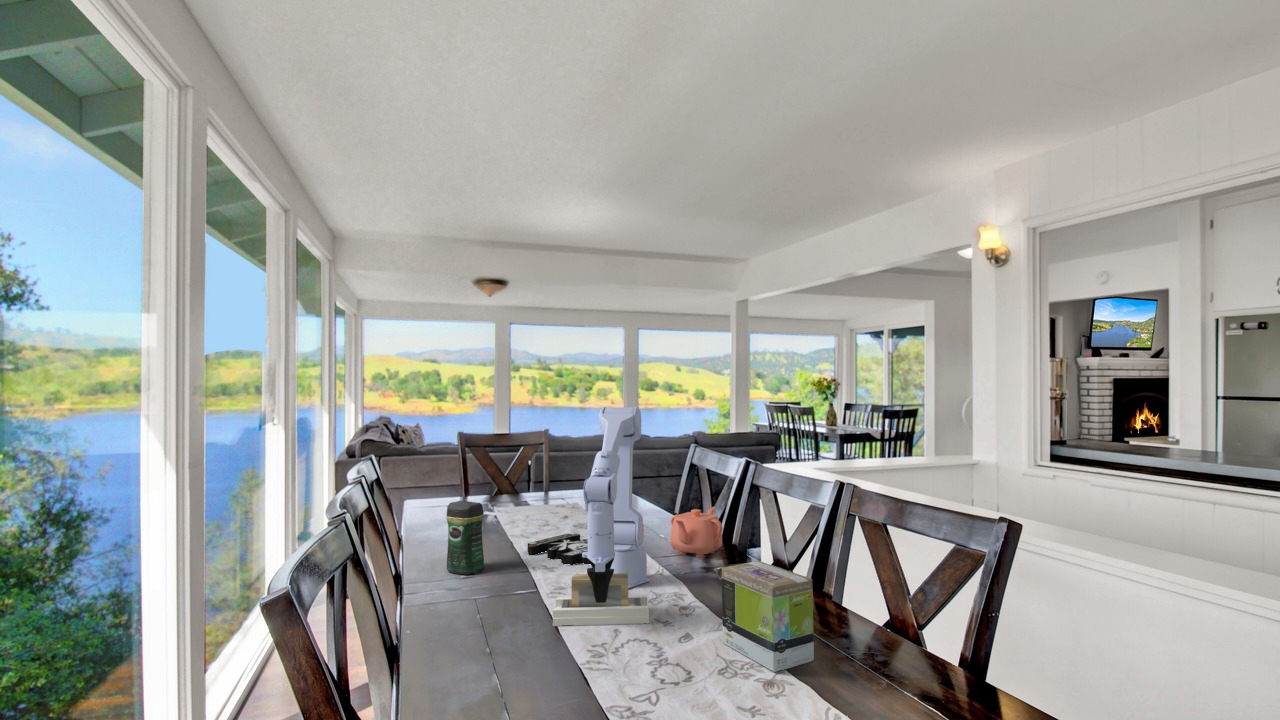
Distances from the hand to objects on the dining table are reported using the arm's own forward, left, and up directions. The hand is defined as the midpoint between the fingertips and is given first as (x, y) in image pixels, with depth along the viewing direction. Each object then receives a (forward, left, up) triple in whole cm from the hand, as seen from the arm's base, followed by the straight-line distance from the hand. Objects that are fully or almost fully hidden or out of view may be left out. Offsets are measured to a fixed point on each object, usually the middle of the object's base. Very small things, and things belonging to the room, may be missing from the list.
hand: (601, 595), depth 137 cm
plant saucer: (-39, +13, -5) cm, 41 cm away
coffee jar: (+1, -52, -5) cm, 52 cm away
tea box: (-8, +36, -5) cm, 37 cm away
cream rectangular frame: (0, 0, -4) cm, 4 cm away
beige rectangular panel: (0, 0, -3) cm, 3 cm away
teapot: (-53, -15, -5) cm, 55 cm away
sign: (-29, -39, -5) cm, 49 cm away
